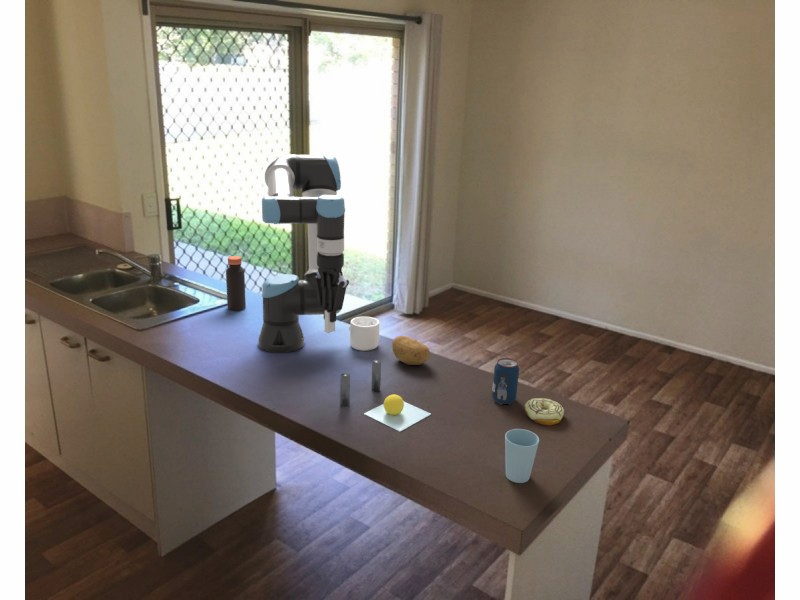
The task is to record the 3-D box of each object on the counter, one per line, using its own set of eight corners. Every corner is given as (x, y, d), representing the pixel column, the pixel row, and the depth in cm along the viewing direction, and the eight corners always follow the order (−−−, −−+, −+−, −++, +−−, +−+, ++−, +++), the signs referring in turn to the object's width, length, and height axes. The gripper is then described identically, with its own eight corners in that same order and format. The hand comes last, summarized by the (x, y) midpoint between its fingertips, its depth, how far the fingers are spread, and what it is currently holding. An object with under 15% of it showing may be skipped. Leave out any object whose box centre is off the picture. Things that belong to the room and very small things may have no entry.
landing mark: (363, 414, 177) (363, 413, 177) (395, 398, 186) (395, 397, 186) (399, 431, 169) (400, 431, 169) (431, 414, 178) (431, 413, 178)
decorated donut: (528, 426, 175) (529, 413, 174) (521, 407, 185) (522, 395, 184) (566, 427, 175) (568, 415, 174) (557, 408, 185) (559, 396, 184)
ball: (397, 415, 173) (384, 419, 177) (411, 408, 177) (398, 413, 180) (389, 395, 173) (376, 400, 177) (403, 389, 177) (390, 394, 181)
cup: (535, 487, 148) (540, 447, 145) (501, 484, 149) (505, 444, 146) (533, 469, 155) (537, 430, 152) (500, 465, 156) (504, 427, 153)
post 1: (338, 404, 181) (338, 375, 178) (344, 401, 183) (345, 372, 180) (344, 407, 180) (345, 378, 177) (351, 404, 182) (352, 375, 179)
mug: (364, 336, 229) (365, 312, 226) (388, 344, 224) (389, 319, 221) (342, 346, 220) (343, 321, 217) (366, 354, 214) (367, 329, 211)
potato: (416, 374, 201) (417, 351, 199) (384, 360, 211) (385, 337, 208) (437, 366, 208) (438, 343, 206) (405, 352, 217) (406, 330, 215)
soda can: (511, 394, 192) (515, 356, 188) (519, 405, 185) (523, 366, 181) (488, 395, 191) (492, 357, 187) (495, 406, 184) (499, 367, 180)
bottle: (236, 312, 246) (234, 261, 239) (223, 308, 249) (221, 257, 243) (249, 307, 251) (247, 257, 245) (237, 303, 255) (234, 254, 248)
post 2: (369, 389, 191) (370, 361, 188) (375, 387, 192) (376, 359, 189) (376, 392, 189) (377, 364, 186) (382, 389, 191) (383, 361, 188)
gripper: (304, 249, 182) (304, 328, 190) (336, 259, 174) (336, 341, 182) (324, 245, 188) (324, 322, 195) (356, 254, 180) (355, 334, 187)
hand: (329, 331), depth 189 cm, fingers closed
